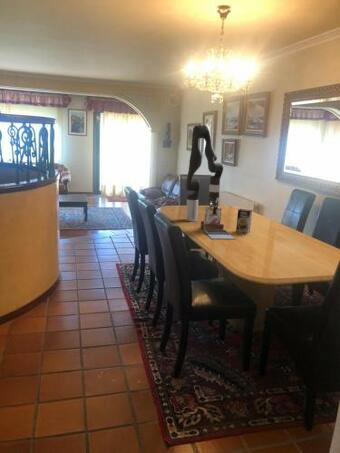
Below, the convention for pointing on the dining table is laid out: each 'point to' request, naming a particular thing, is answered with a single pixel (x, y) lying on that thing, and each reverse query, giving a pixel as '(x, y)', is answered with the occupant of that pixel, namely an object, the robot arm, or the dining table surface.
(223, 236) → the pad
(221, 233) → the tray
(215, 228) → the walled channel
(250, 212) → the coffee box
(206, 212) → the candy bar box
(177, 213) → the dining table surface
